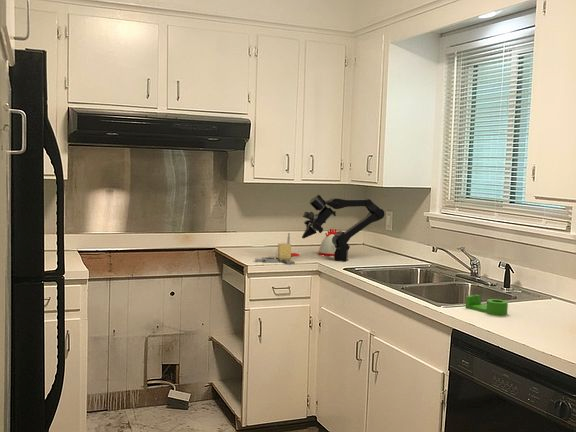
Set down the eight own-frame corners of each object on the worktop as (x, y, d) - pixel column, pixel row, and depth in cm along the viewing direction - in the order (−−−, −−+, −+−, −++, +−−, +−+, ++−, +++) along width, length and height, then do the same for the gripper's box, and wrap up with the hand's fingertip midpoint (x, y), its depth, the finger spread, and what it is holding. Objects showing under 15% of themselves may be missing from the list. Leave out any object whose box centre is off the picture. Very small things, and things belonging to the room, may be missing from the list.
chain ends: (287, 259, 337) (287, 257, 337) (294, 264, 323) (294, 261, 323) (254, 260, 332) (254, 257, 332) (260, 264, 318) (260, 261, 318)
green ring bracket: (511, 315, 225) (512, 302, 225) (498, 317, 222) (499, 304, 221) (477, 306, 238) (478, 294, 238) (464, 308, 234) (465, 296, 234)
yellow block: (288, 260, 335) (289, 243, 334) (290, 261, 331) (291, 244, 330) (277, 260, 333) (278, 243, 332) (279, 261, 329) (280, 244, 328)
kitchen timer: (347, 256, 358) (348, 229, 357) (326, 257, 352) (327, 230, 351) (334, 252, 370) (335, 227, 369) (314, 253, 364) (315, 227, 363)
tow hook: (289, 254, 360) (280, 255, 353) (291, 232, 360) (281, 232, 352) (302, 256, 356) (292, 257, 348) (303, 233, 355) (294, 233, 347)
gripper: (307, 205, 343) (287, 226, 341) (317, 207, 325) (296, 229, 323) (321, 219, 345) (302, 240, 343) (331, 221, 327) (311, 243, 325)
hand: (302, 237), depth 334 cm, fingers closed
